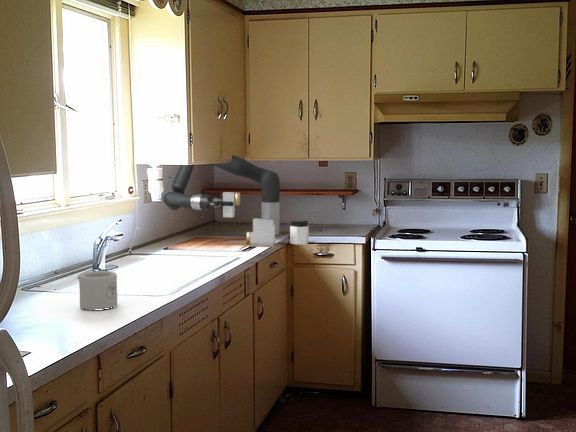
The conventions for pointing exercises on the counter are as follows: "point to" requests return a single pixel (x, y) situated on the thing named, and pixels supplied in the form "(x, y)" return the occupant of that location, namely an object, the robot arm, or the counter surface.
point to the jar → (299, 231)
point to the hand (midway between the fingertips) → (234, 203)
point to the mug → (98, 290)
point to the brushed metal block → (235, 198)
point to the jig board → (241, 243)
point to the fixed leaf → (262, 232)
